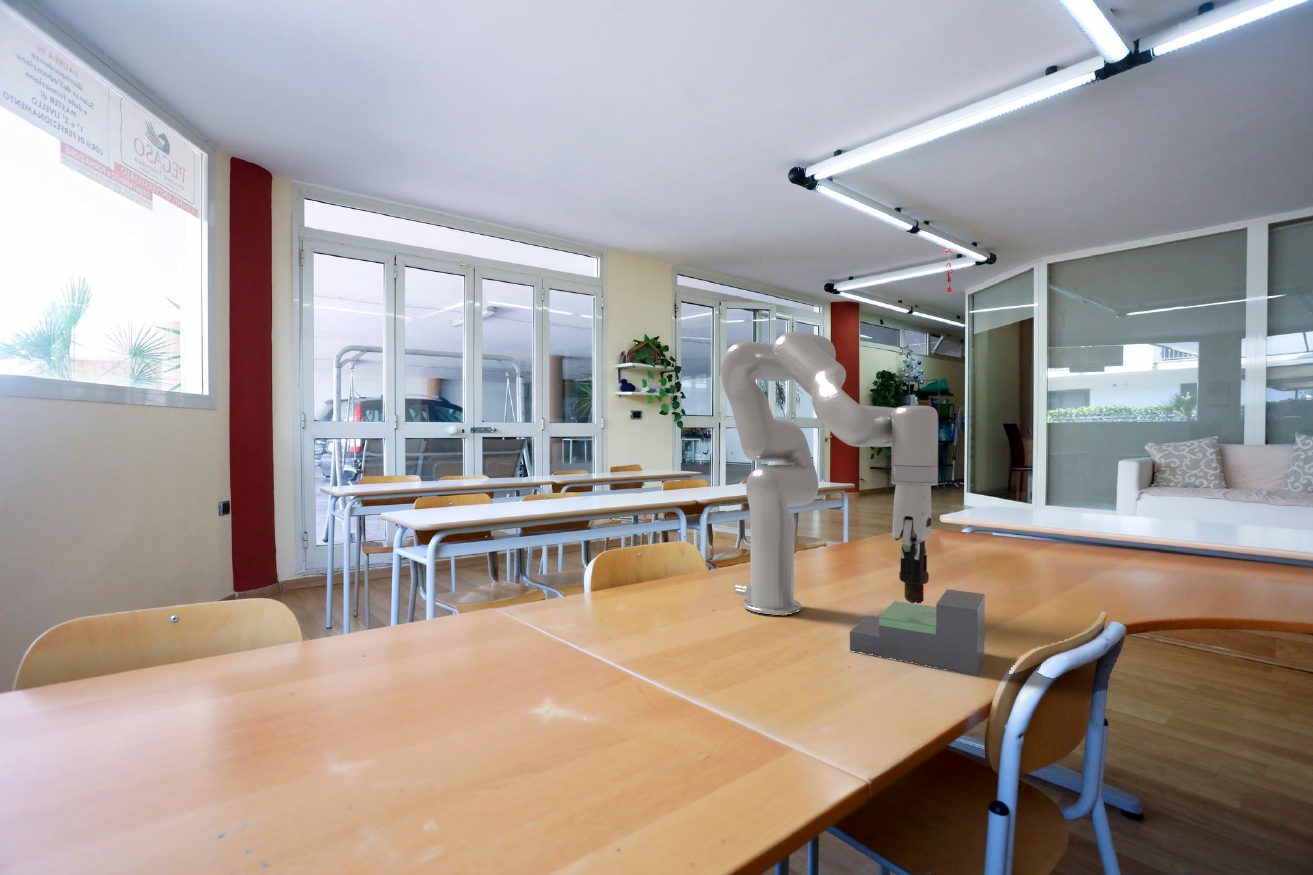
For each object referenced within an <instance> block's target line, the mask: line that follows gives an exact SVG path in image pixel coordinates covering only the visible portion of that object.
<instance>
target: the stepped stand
mask: <svg viewBox="0 0 1313 875" xmlns="http://www.w3.org/2000/svg"><path fill="white" fill-rule="evenodd" d="M985 596H986V594H985V593H980V592H973V591H972V592H971V591H965V590H956V589H955V590H954V589H948V588H946V590H945V591H944V593H943V594H942V596H941V597H940V598H939V600H938V601H937V602H936V606H931V605H925V604H920V603H910V602H904V601H897V600H894V601H893V602H892V603H891V604H890V605H888V607H887V608H885V610H884V611H883V612H882V613H881V614H880V615H879V616H873V615H868V614H867V615H866V616H865V617H864V618H863V619H862V620H861V621H859V623H857V624H856V625H855V626H854V627H852V629H851V630H850V631H849V651H850V650H851V651H855V652H862V653H865V654H873V655H876V656H881V657H885V658H884V659H886V658H892V659H896V660H902V661H907V662H913V663H917V664H920V665H919V666H922V665H927V666H931V667H930V668H932V667H937V668H939V669H938V670H942V669H947V670H946V671H948V670H949V672H953V671H954V672H955V673H960V674H962V675H963V674H964V675H969V676H974V677H978V676H979V673H980V669H981V666H982V663H983V660H984V657H985V654H986V653H985V648H986V647H985V641H986V640H985V638H986V637H985V636H986V635H985V634H986V632H985V628H986V627H985V624H986V622H985V621H986V620H985V615H986V611H985V608H986V606H985V605H986V604H985V602H986V600H985V599H986V598H985ZM855 652H854V653H855ZM984 653H985V654H984ZM865 654H864V655H865ZM876 656H875V657H876ZM881 657H880V658H881ZM896 660H895V661H896ZM917 664H916V665H917ZM927 666H926V667H927ZM937 668H936V669H937ZM954 672H953V673H954Z"/></svg>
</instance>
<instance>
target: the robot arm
mask: <svg viewBox="0 0 1313 875" xmlns="http://www.w3.org/2000/svg"><path fill="white" fill-rule="evenodd" d="M835 348H836V347H835V346H834V343H833V342H832V341H831V340H830V339H828V338H827V337H826V336H823V335H821V334H820V335H819V334H815V333H814V334H813V333H810V332H809V333H808V332H802V331H790V332H786V333H783V334H782V335H780V336H779V337H778V338H777V339H776V340H775V342H774V343H773V344H772V343H768V342H767V343H766V342H759V341H741V342H736V343H734V344H733V345H731V346H730V347H729V348H728V349H727V350H726V352H725V354H724V357H723V358H722V362H721V366H720V369H721V370H720V377H721V383H722V386H723V390H724V392H725V395H726V397H727V399H728V402H729V405H730V407H731V410H732V415H733V419H734V422H735V426H736V430H737V434H738V438H739V441H740V445H741V448H742V451H743V453H744V454H743V455H745V457H746V458H747V459H749V460H750V461H753V462H765V463H766V462H776V463H777V464H767V465H761V466H759V467H757V468H755V469H754V470H752V471H751V473H750V474H749V475H748V477H747V480H746V484H745V491H746V497H747V502H748V506H749V517H750V518H749V520H750V522H749V523H750V584H748V585H745V584H740V583H736V584H735V586H734V592H735V595H738V596H739V595H741V596H744V597H745V599H744V600H743V603H742V605H744V607H745V608H747V609H749V610H753V611H755V612H758V613H769V614H785V613H794V612H796V611H797V610H800V609H801V610H802V604H801V602H800V601H798V600H796V599H795V527H794V522H793V518H792V517H791V514H790V511H789V508H791V507H792V508H794V507H800V506H802V507H803V506H807V505H810V504H811V503H812V502H814V500H816V498H817V495H818V492H819V477H818V473H817V470H816V467H815V463H814V459H813V457H812V454H811V450H810V447H809V443H808V441H807V437H806V435H805V433H804V431H803V430H802V429H801V427H800V426H798V425H797V424H796V423H794V422H792V421H788V420H778V419H777V420H776V418H775V417H774V415H773V413H772V409H771V407H770V402H769V400H768V398H767V396H766V394H765V393H764V391H763V389H761V387H760V386H759V385H758V383H756V380H759V381H769V382H786V381H787V382H788V381H792V380H793V381H795V382H796V383H797V384H798V385H799V386H800V387H801V388H802V389H803V390H804V391H805V392H806V393H808V395H809V396H810V397H811V404H812V407H813V410H814V412H815V416H816V417H817V418H818V420H819V421H820V422H821V424H822V425H823V426H824V427H825V428H827V430H829V431H830V432H831V433H832V434H833V436H834V437H836V438H837V439H838V440H840V441H841V442H843V443H844V444H846V445H848V446H852V447H857V448H859V447H860V448H861V447H865V448H867V447H873V448H883V447H884V448H885V447H887V448H888V447H891V478H890V480H891V484H892V485H895V487H894V488H895V489H894V496H893V497H894V498H893V509H892V510H893V511H892V513H893V514H892V532H891V533H892V539H893V540H894V542H898V541H899V540H901V548H900V570H901V580H900V581H901V582H902V583H904V582H909V583H917V584H919V583H920V582H921V560H919V549H920V543H921V542H922V541H924V549H923V550H924V551H923V552H924V553H923V554H924V555H923V556H924V557H923V558H924V559H923V560H924V561H923V562H924V563H923V564H924V570H925V571H927V572H928V565H927V564H928V555H927V539H928V538H929V537H930V536H931V529H932V525H931V526H929V527H927V520H928V518H929V517H930V518H931V519H932V486H938V484H939V482H938V478H939V477H938V476H939V475H938V474H939V472H938V469H939V468H938V463H939V462H938V457H939V456H938V455H939V454H938V452H939V448H938V446H939V434H938V433H939V431H938V430H939V426H938V425H939V414H938V411H937V409H935V407H932V406H929V405H903V406H898V407H890V406H889V407H888V406H878V405H877V406H876V405H860V403H858V402H857V401H856V400H854V399H853V398H851V397H850V395H849V394H847V393H846V392H845V391H844V390H843V385H844V383H845V382H846V379H847V372H846V369H845V368H844V366H843V365H842V364H840V362H838V361H837V360H836V357H837V354H836V349H835ZM916 534H917V537H916ZM912 538H916V541H911V539H912ZM912 545H915V548H914V546H912ZM914 549H915V550H914ZM744 607H743V608H744ZM745 608H744V609H745ZM758 613H757V614H758Z"/></svg>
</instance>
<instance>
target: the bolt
mask: <svg viewBox="0 0 1313 875" xmlns="http://www.w3.org/2000/svg"><path fill="white" fill-rule="evenodd" d="M929 526H931V527H932V517H931V518H930V517H929V518H928V520H927V527H929ZM916 537H917V534H916ZM911 541H916V538H912V539H911ZM912 546H914V548H915V545H912ZM923 549H924V541H922V542H921V543H920V549H919V560H921V582H920V583H919V584H917V583H909V582H903V583H904V594H903V596H904V598H905V601H906V602H907V603H912V604H922V603H923V602H924V597H925V596H924V592H925V591H924V590H925V588H924V585H926V584H927V583H928V582H929V580H930V578H929V576H930V574H929V572H928V570H927V571H925V570H924V564H923V563H924V562H923V561H924V560H923V559H924V558H923V557H924V556H923V555H924V554H923V553H924V552H923V551H924V550H923ZM914 550H915V549H914ZM898 578H899V580H900V581H901V569H900V570H899V576H898Z"/></svg>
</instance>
